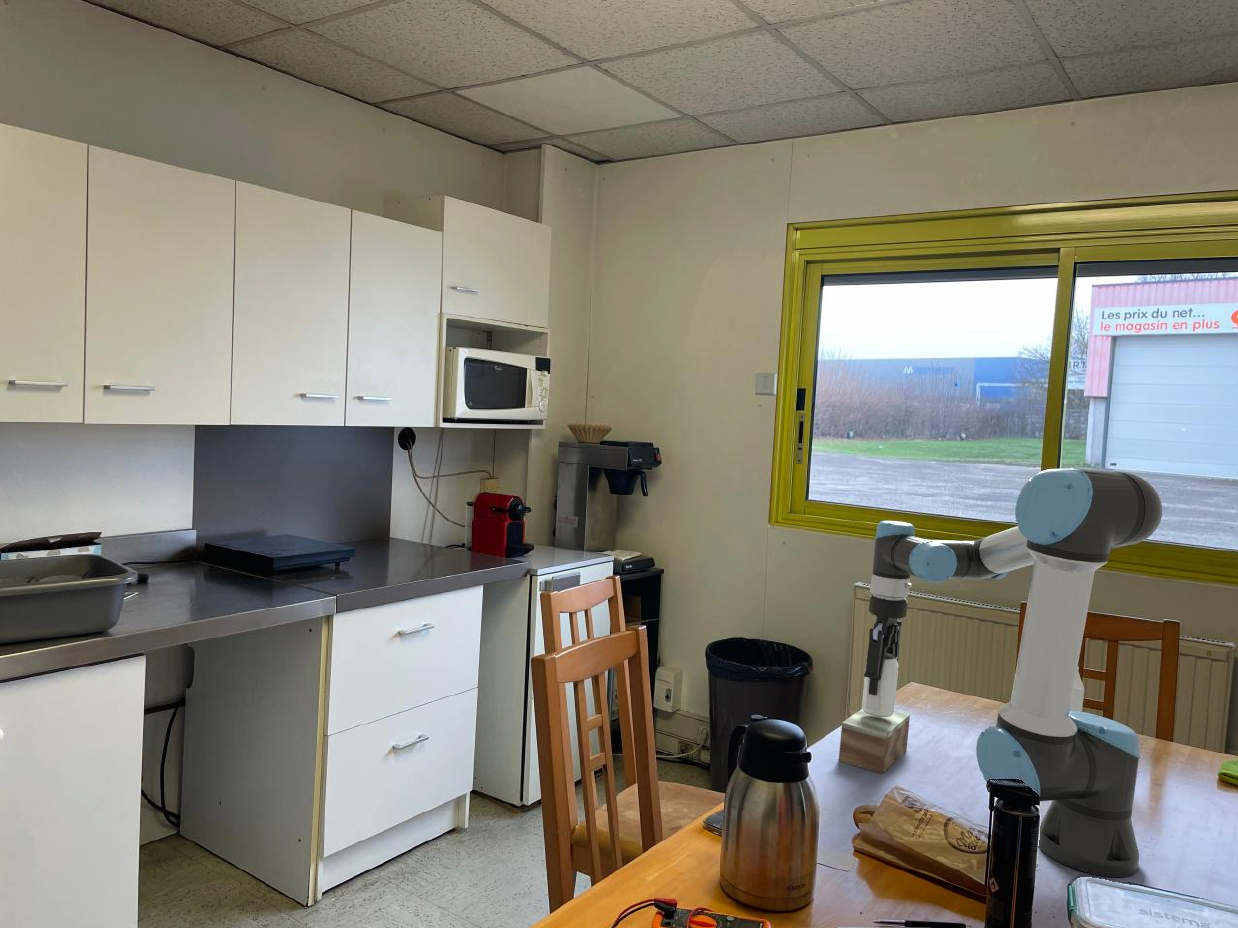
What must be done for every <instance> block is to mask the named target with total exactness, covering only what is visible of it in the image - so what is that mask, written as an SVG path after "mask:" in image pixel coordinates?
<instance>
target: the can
mask: <svg viewBox="0 0 1238 928" xmlns="http://www.w3.org/2000/svg"><path fill="white" fill-rule="evenodd" d="M866 663H867V660H866V662H865V664H866ZM898 668H899V662H898V663H897V657H896V656H895V655H892V654H889V653H886V656H885V661H884V666H883V671H882V676H881V679H883V682H882V692H881V703H880V711H879V712H878V711H874V710H871V709H867V708H866V699H867V688H868V677H864V681H863V692H862V701H861V709H863V711H864V712H865V713H867V714H870V715H873V716H878V717H889V716H892V714H894V711H895V708H896V707H895V706H896V695H897V685H898V676H899V670H898ZM865 671H866V668H865ZM865 671H864V672H865Z"/></svg>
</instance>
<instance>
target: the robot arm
mask: <svg viewBox="0 0 1238 928" xmlns="http://www.w3.org/2000/svg"><path fill="white" fill-rule="evenodd" d="M1014 512H1015V513H1014V515H1015V521H1016V523H1018V525H1017V526H1014V527H1011V528H1009V529H1008V528H1007V529H1005V530H1003V531H999V532H997V533H993V534H991V535H988V536H985V537H981V538H979V539H975V540H948V539H947V540H946V539H944V540H943V539H942V540H941V539H926V538H921V537H916V533H915V532H916V530H915V529H916V528H915V526H914V525H913V523H910V522H904V521H896V520H882V521H879V523H878V524H877V526H876V533H875V534H876V535H875V538H874V548H873V549H874V551H873V561H872V574H871V581H870V588H869V589H870V590H869V591H870V593H872V594H871V595H870V596H869V603H868V612H869V613H870V614H872V615H873V616H874V615H875V616H876V621H875V623H874V624H873V627H872V628H871V627H870V629H869V631H868V635H869V636H868V638H869V639H868V649H867V657H866V661H867V663H866V662H865V669H866V671H864V674H863V677H864V678H865V677H868V688H867V699H866V708H867V709H871V710H874V711H878V712H879V711H880V703H881V692H882V682H883V679H881V676H882V671H883V666H884V661H885V656H886V653H889V654H892V655H895V656H896V657H897V663H898V664H899V655H900V639H901V629H902V625H903V624H902V623H903V622H902V620H899V619H904V618H906V617H907V611H908V604H909V603H908V602H909V601H908V599H907V597H908V596H909V591H910V590H909V589H911V588H912V583H911V582H910V580H911V576H913V577H915V578H919V579H920V580H922V581H925V582H932V583H943V582H945V581H947V580H950V579H951V580H957V579H959V580H960V579H963V580H983V581H990V580H1000V579H1003V578H1005V577H1006V576H1007V575H1008V573H1010V572H1011V571H1014V570H1017V569H1021V568H1025V567H1029V566H1033V567H1032V572H1031V579H1030V584H1029V591H1028V596H1027V604H1026V609H1025V615H1024V620H1023V628H1022V632H1021V639H1020V643H1019V651H1018V656H1017V662H1016V669H1015V674H1014V679H1013V681H1014V682H1013V685H1012V692H1011V697H1010V701H1008V702H1007V703H1005V704H1002V705H1001V706H1000V707H999V708H998V713H997V719H996V724H995V726H988V727H987V728H985V729H984V730H982V731H981V732H980V734H979V735H978V737H977V741H976V746H975V747H976V749H975V750H976V754H975V755H976V760H977V764H978V768H979V771H980V772H981V774H982V776H983V779H984V781H985V782H986V784H987V781H988V780H989V779H996V778H1005V779H1019V780H1022V781H1023V782H1024V783H1025V784H1026V785H1027V786H1029V787H1030V788H1032V790H1033V791H1035V792H1036V793H1037V794H1038V795H1039V797H1040V801H1039V802H1048V801H1051V803H1050V805H1049V807H1048V809H1047V810H1046V812H1045V814H1044V816H1043V818H1042V819H1041V822H1040V824H1041V826H1040V825H1039V826H1040V840H1039V846H1038V847H1039V849H1040V850H1041V851H1042V852H1043V853H1045V854H1046V855H1047V856H1048V857H1049V858H1051V859H1053V860H1055V861H1056V862H1059V863H1060V864H1063V865H1064V866H1067V867H1069V866H1070V867H1069V868H1071V867H1072V869H1074V868H1075V870H1077V869H1078V870H1077V871H1080V870H1081V871H1080V872H1083V871H1086V872H1085V873H1087V872H1088V873H1087V874H1091V873H1092V875H1096V876H1101V877H1102V876H1103V877H1108V878H1109V877H1110V878H1125V877H1129V876H1132V875H1135V874H1136V873H1137V872H1138V870H1139V862H1140V852H1139V848H1138V843H1137V839H1136V835H1135V830H1134V827H1133V822H1132V814H1133V808H1134V807H1133V806H1134V800H1135V794H1136V793H1135V792H1136V783H1137V778H1138V770H1139V769H1138V768H1139V763H1140V762H1139V760H1140V758H1141V755H1140V743H1141V741H1140V737H1139V736H1138V733H1137V731H1136V732H1135V730H1133V728H1131V727H1128V725H1125V724H1122V723H1120V722H1118V721H1116V720H1113V719H1110V718H1107V717H1104V716H1100V715H1098V714H1093V713H1090V712H1089V713H1088V712H1084V711H1082V712H1080V711H1070V706H1071V701H1072V695H1073V690H1074V684H1075V678H1076V673H1077V667H1079V660H1080V654H1081V649H1082V644H1083V637H1084V633H1085V629H1086V627H1085V626H1086V623H1087V617H1088V610H1089V605H1090V598H1091V593H1092V588H1093V583H1094V577H1095V572H1096V571H1097V570H1098V569H1100V568H1101V567H1103V566H1105V565H1106V564H1108V561H1109V557H1110V553H1111V550H1114V549H1118V548H1121V547H1126V546H1130V545H1136V544H1139V543H1141V542H1143V541H1146V540H1147V539H1148V538H1150V536H1152V535H1153V534H1154V533H1155V532H1156V530H1157V529H1158V528H1159V526H1160V523H1161V520H1162V517H1163V505H1162V500H1161V498H1160V495H1159V494H1158V492H1157V491H1156V489H1155V488H1154V487H1153V486H1152V485H1151V484H1150V482H1148V481H1147V480H1145V479H1144V478H1142V477H1140V476H1138V475H1136V474H1132V473H1130V472H1123V471H1107V470H1105V471H1104V470H1091V469H1079V468H1078V469H1077V468H1069V467H1064V468H1049V469H1045V470H1042V471H1039V472H1038V473H1036V474H1035V475H1034V476H1033V477H1031V478H1029V479H1028V480H1027V481H1026V483H1024V485H1023V487H1022V488H1021V490H1020V492H1019V494H1018V497H1017V499H1016V502H1015V509H1014ZM899 670H900V669H899V667H898V671H899Z"/></svg>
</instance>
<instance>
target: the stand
mask: <svg viewBox="0 0 1238 928" xmlns="http://www.w3.org/2000/svg"><path fill="white" fill-rule="evenodd" d="M910 720H911V714H909V713H904V712H900V711H897V710H894V714H892V716H889V717H878V716H873V715H870V714H867V713H865V712H864V711H863V709H862V708H861V709H860V710H858V711H857V712H856V713H853V714H852V715H851V716H849V717H848V718H846V719H844V721H842V722H841V731H840V742H839V743H840V744H839V753H838V761H839V762H842V763H845V764H848V765H852V766H855V767H859V768H862V769H865V770H868V771H872V772H876V773H878V774H884V772H886V770H888V769H889V768H890V767H891V766H892V765H893V764H895V762H897V761H898V760H899V759H900V758H901V757H902V756H903V755H904V754H905V753H907V750H908V749H907V748H908V740H909V727H910Z"/></svg>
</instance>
